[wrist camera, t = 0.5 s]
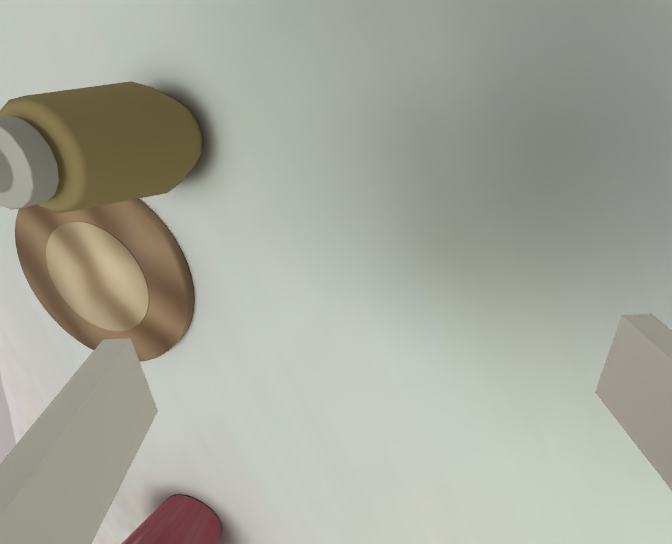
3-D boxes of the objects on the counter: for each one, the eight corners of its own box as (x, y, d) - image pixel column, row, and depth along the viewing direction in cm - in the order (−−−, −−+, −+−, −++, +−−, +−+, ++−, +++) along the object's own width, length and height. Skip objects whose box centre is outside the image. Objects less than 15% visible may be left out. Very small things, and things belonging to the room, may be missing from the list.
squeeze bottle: (138, 63, 31) (-190, 39, 15) (227, 110, 31) (-18, 134, 15) (124, 158, 35) (-149, 215, 19) (203, 201, 35) (-12, 295, 19)
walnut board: (75, 128, 35) (58, 130, 34) (231, 294, 38) (222, 303, 36) (5, 254, 45) (-11, 259, 43) (134, 379, 47) (123, 389, 46)
